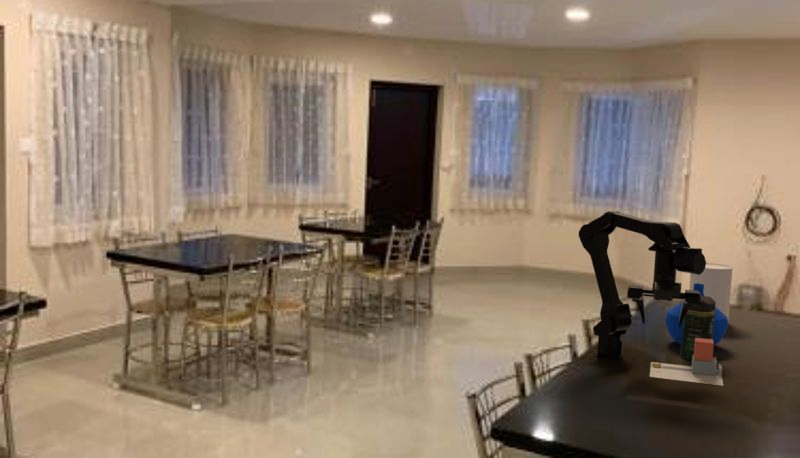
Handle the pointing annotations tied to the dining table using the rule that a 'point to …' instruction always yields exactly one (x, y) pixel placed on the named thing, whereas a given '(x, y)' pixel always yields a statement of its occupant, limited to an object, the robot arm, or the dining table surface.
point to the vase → (673, 321)
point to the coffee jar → (697, 325)
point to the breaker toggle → (704, 366)
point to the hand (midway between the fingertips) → (661, 325)
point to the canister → (715, 284)
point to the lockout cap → (703, 349)
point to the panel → (684, 373)
